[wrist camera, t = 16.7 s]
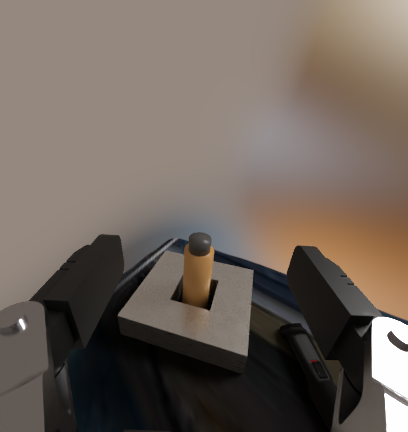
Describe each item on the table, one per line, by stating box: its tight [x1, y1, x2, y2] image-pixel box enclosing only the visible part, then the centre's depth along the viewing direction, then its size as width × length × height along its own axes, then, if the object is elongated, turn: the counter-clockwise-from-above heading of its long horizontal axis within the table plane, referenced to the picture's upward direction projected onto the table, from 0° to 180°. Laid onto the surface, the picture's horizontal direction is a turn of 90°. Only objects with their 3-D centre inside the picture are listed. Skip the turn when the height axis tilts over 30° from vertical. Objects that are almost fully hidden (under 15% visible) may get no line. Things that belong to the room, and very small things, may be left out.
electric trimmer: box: [280, 323, 337, 432], centre depth 25 cm, size 4×16×3 cm, turn 5°
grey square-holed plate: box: [117, 251, 253, 374], centre depth 34 cm, size 18×16×4 cm
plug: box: [182, 233, 214, 310], centre depth 32 cm, size 4×4×14 cm
